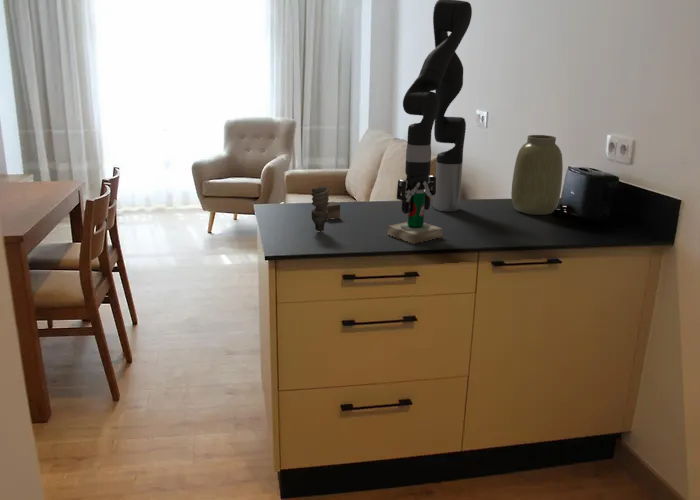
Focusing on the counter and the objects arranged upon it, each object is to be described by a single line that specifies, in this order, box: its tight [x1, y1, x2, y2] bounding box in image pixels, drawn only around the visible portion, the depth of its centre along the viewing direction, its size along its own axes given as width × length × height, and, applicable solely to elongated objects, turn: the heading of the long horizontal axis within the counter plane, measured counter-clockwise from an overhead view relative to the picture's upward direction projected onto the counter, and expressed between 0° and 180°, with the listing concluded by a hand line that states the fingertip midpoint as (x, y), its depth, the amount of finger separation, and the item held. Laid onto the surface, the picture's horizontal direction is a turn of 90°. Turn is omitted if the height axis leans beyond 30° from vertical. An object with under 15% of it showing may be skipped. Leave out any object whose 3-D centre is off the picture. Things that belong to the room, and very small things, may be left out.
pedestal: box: [387, 221, 443, 245], centre depth 196 cm, size 12×12×3 cm
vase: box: [510, 134, 564, 216], centre depth 226 cm, size 17×17×27 cm
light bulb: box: [311, 185, 330, 233], centre depth 196 cm, size 6×6×15 cm
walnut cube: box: [325, 201, 341, 219], centre depth 215 cm, size 5×5×5 cm
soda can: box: [406, 189, 425, 228], centre depth 193 cm, size 5×5×12 cm
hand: (415, 211), depth 194 cm, fingers open, 8 cm apart
